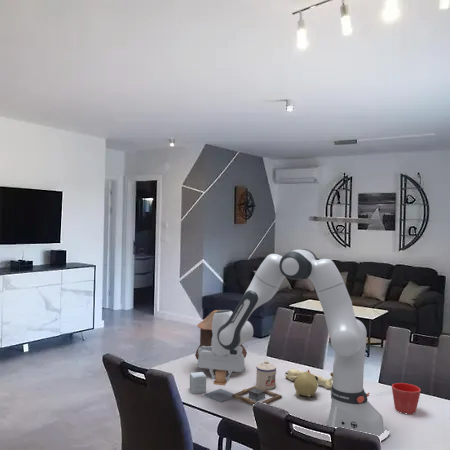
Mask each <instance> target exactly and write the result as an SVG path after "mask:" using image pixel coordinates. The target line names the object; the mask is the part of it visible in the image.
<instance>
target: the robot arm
mask: <svg viewBox="0 0 450 450" xmlns="http://www.w3.org/2000/svg"><path fill="white" fill-rule="evenodd" d="M337 267H338V266H336V264H335V262H334V261H333V260H332V259H329V258H320V259H318V258H317V256H316V253H314V252H313V251H311V250H309V249H306V248H303V249H302V248H301V249H293V250H292V251H289V252H286V253H285V254H283V256H282V255H280V254H277V253H270V254H268V255H267V256H266V257H265V258H264V260H263V261H262V262H261V264H260V265H259V267H258V268H257V270H256V272H255V274H254V276H253V278H252V280H251V282H250V284H249V285H248V287H247V289H246V291H245V292H244V294H243V296H242V297H241V299H240V301H239V302H238V304H237V305H236V307H235V309H234V310H233V311H232V310H230V309H219V310H220V311H217V312H215V313H214V316H213V321H212V333H213V337H212V343H211V346H201V347H199V346H198V347H199V349H198V348H197V349H198V354H199V358H198V360H197V367H198V368H201V369H209V373H210V375H211V379H212V380H215V372H214V371H213V370H214V369H217V370H226V371H228V373H227V374H228V375H227V374H226V377H225V381H227V382H229V381H230V379H231V375H232V373H233V372H236V373H243V371H244V370H245V367H246V365H245V363H246V362H245V361H246V360H245V358H244V355H243V354H242V347H241V346H239V345H241V344H242V345H244V344H245V343H247V342H249V341H251V340H252V339H253V336H254V327H253V324H252V323H251V322H250V321H249V318H250V316H251V315H252V314H253V312H254V311H256V309H257V308H259V307H261V306H262V305H264V304H266V303H267V302H269V301H270V300H272V299H273V297H274V296H275V295H276V293H277V292H278V291H279V289H280V287H281V284H282V283H283V282H284V279H286V278H287V279H289V280H307V279H308V280H310V281H311V283H312V285H313V287H314V289H315V292H316V295H317V298H318V300H319V303H320V305H321V309H322V311H323V314H324V319H325V322H326V323H325V324H326V327H327V330H328V331H327V332H328V334H329V338H330V344H331V345H330V346H331V348H332V349H333V351H334V352H335V353H334V360H333V367H332V372H333V381H332V383H333V385H332V387H331V388H330V399H331V404H330V408H329V414H328V417H327V421H326V424H327V426H328V425H329V426H331V427H344V428H348V429H353V430H357V431H362V432H367V433H371V434H375V435H378V436H380V435H381V434H382V433H384V431H385V430H387V431H389V430H390V429H389V428H388V427H385V426H384V420H383V416H382V414H381V413H380V412H379V411H378V409H376V408H375V407H374V406H373V405H372V404H371V403H370V402H369V401H368V397H369V396H370V392H367V393H366V391H365V389H364V373H365V372H364V369H365V368H364V367H365V358H366V350H367V349H366V348H367V346H366V345H367V334H368V333H367V328H366V326H365V325H364V323H363V322H362V321H361V320H359V319H357V318H356V316H355V312H354V307H353V301H352V299H351V296H350V294H349V292H348V289H347V287H346V284H345V281H344V279H343V276H342V274H341V273H340V271H339V269H338V268H337ZM329 426H328V427H329Z"/></svg>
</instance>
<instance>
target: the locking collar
mask: <svg viewBox="0 0 450 450" xmlns="http://www.w3.org/2000/svg"><path fill="white" fill-rule="evenodd" d="M255 388H258V389H261V390H264V391H265V395H267V396H270V398H268V399H265V400H263V401H261V402H262V403H266V404H267V405H269V404H272V403H274V402H276V401H279V400H281V399H282V398H283V397H282V396H283V395H281V394H278V393H276V392H273V391H270V390H269V389H262V388H259V387H257V386H256V385H253V386H251V387H248V388H243V389H242V390H241V391H238V392H236V393H233V395H232V396H233V398H232V399H235V400H238V401H240V402H244V403H246V404H248V405H251V406H253V404H255V403H256V402H257V401H256V400H254V399H251V398H249V397H244V396H245V395H247V394H249V390H252V389H255Z"/></svg>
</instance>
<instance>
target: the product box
mask: <svg viewBox="0 0 450 450" xmlns="http://www.w3.org/2000/svg"><path fill="white" fill-rule="evenodd" d="M189 390H190V392H191V393H192V394H193V395H195V394H196V395H197V394H203V393H207V375H206V374H205V373H204V372H203V371H199V372H197V371H196V372H190V373H189Z"/></svg>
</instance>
